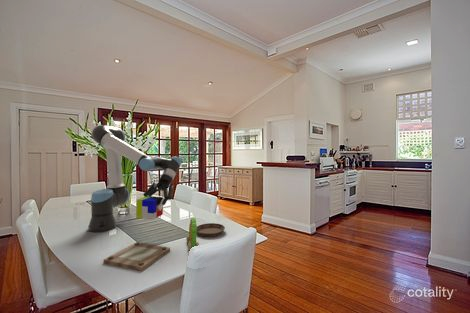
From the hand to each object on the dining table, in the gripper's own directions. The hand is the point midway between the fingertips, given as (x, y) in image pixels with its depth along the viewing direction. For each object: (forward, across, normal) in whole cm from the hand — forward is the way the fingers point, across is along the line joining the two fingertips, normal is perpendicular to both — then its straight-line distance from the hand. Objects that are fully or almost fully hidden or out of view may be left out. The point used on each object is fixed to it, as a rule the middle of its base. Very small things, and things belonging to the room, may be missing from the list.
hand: (150, 208), depth 129 cm
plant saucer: (-2, -28, -25) cm, 38 cm away
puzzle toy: (+4, 0, -3) cm, 5 cm away
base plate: (+26, -10, +3) cm, 29 cm away
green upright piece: (+14, -28, -9) cm, 33 cm away
